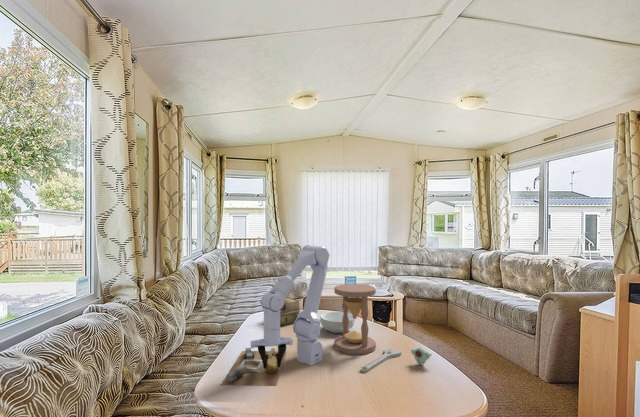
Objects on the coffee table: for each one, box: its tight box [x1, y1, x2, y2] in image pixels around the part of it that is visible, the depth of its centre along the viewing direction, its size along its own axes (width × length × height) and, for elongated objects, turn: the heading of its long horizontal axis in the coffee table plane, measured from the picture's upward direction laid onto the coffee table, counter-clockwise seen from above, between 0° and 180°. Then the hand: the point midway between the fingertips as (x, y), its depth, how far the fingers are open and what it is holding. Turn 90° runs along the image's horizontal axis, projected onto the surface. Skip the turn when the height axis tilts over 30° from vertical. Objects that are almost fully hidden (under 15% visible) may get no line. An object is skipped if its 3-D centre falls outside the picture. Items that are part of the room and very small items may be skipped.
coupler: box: [265, 347, 278, 374], centre depth 119 cm, size 5×4×7 cm
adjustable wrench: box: [360, 347, 402, 373], centre depth 131 cm, size 25×6×2 cm, turn 134°
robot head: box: [410, 346, 433, 366], centre depth 127 cm, size 8×4×7 cm, turn 52°
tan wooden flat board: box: [220, 347, 287, 387], centre depth 123 cm, size 18×28×4 cm, turn 179°
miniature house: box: [280, 296, 301, 328], centre depth 180 cm, size 15×14×11 cm
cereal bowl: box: [319, 310, 356, 334], centre depth 167 cm, size 17×17×7 cm
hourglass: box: [333, 283, 377, 355], centre depth 146 cm, size 18×18×25 cm
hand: (271, 366), depth 119 cm, fingers closed on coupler, 4 cm apart
